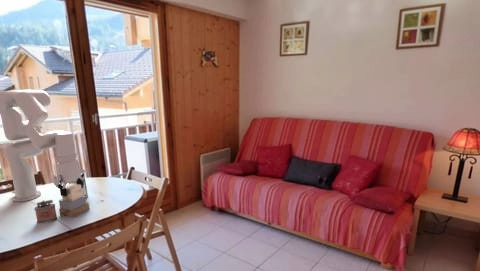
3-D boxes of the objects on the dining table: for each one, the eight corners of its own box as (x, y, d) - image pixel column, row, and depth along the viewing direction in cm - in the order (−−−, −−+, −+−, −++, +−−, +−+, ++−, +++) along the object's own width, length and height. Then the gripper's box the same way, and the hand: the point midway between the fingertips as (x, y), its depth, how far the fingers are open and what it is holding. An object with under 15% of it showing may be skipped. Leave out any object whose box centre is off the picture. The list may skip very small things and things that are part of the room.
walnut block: (60, 216, 136) (58, 208, 135) (75, 208, 145) (74, 200, 144) (75, 218, 134) (74, 210, 133) (89, 209, 142) (88, 202, 142)
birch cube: (62, 200, 136) (60, 188, 134) (72, 194, 141) (71, 183, 140) (72, 201, 134) (70, 189, 133) (82, 196, 140) (81, 184, 139)
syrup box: (80, 200, 152) (76, 175, 149) (71, 200, 153) (67, 175, 150) (88, 196, 158) (84, 171, 154) (79, 195, 159) (75, 171, 156)
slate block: (60, 207, 136) (58, 200, 136) (75, 201, 144) (74, 193, 143) (71, 210, 133) (70, 202, 132) (86, 203, 140) (85, 196, 140)
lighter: (36, 224, 129) (32, 204, 126) (38, 221, 132) (34, 201, 130) (56, 220, 132) (53, 200, 130) (58, 217, 135) (54, 197, 133)
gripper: (75, 152, 143) (80, 184, 146) (44, 163, 126) (50, 198, 130) (87, 153, 141) (92, 185, 144) (57, 164, 124) (63, 200, 128)
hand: (72, 191), depth 137 cm, fingers open, 9 cm apart
